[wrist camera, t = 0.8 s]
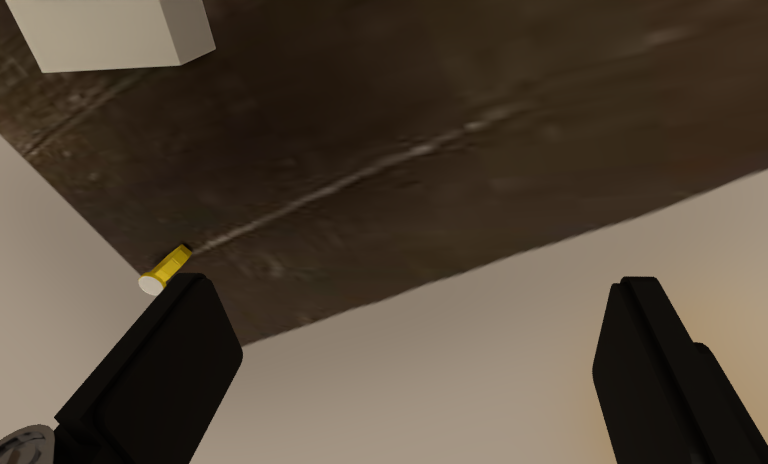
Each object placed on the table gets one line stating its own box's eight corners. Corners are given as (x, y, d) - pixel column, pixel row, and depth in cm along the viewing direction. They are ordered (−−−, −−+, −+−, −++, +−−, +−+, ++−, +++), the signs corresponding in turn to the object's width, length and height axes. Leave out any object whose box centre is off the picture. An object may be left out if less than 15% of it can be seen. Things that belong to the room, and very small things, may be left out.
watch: (185, 233, 49) (156, 264, 44) (204, 249, 50) (178, 281, 45) (155, 257, 51) (125, 289, 46) (173, 272, 52) (146, 305, 47)
